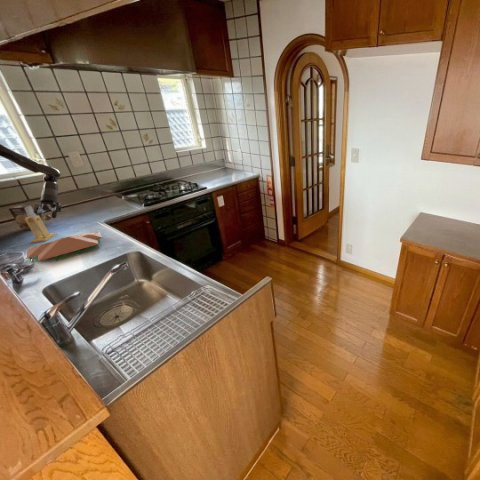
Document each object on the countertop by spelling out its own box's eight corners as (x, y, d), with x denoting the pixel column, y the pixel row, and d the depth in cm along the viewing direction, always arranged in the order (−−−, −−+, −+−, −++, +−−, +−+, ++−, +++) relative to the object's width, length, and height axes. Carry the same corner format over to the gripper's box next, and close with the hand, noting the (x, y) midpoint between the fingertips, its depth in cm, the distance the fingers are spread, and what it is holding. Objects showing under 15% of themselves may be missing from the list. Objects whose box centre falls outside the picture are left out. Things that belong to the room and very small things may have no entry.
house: (106, 247, 155) (100, 234, 151) (29, 269, 135) (20, 256, 131) (101, 235, 170) (95, 223, 166) (30, 254, 150) (22, 241, 146)
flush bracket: (42, 235, 171) (30, 214, 164) (56, 234, 173) (44, 213, 166) (31, 242, 163) (17, 221, 156) (46, 241, 164) (33, 219, 157)
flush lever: (47, 220, 174) (45, 215, 173) (53, 219, 175) (52, 214, 174) (28, 223, 160) (26, 217, 160) (35, 222, 161) (33, 216, 160)
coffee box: (20, 230, 180) (7, 208, 172) (28, 226, 186) (15, 205, 178) (35, 229, 181) (22, 207, 174) (42, 225, 187) (30, 204, 179)
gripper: (31, 194, 171) (28, 217, 166) (56, 192, 174) (54, 215, 169) (41, 199, 178) (38, 222, 174) (65, 197, 181) (63, 219, 176)
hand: (46, 218), depth 171 cm, fingers open, 7 cm apart
